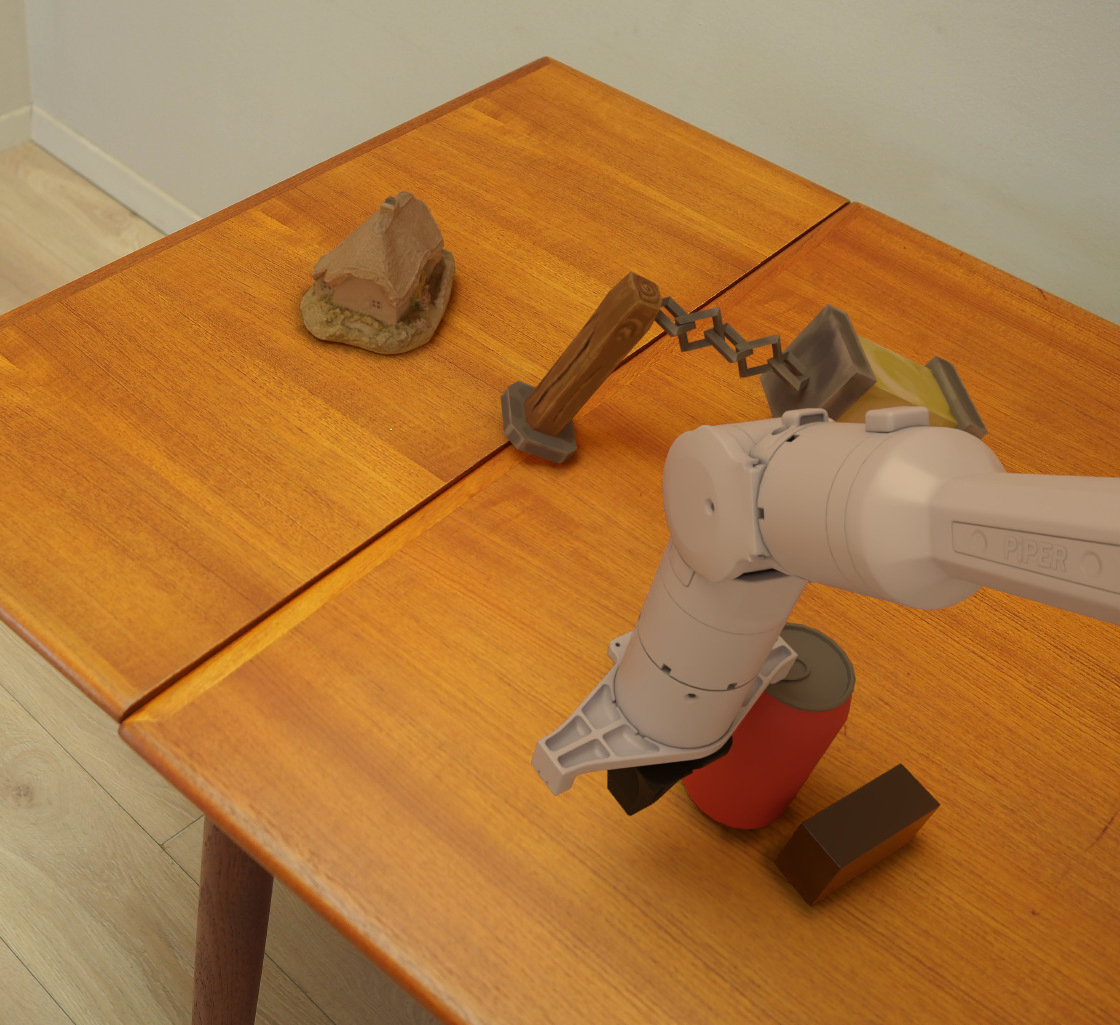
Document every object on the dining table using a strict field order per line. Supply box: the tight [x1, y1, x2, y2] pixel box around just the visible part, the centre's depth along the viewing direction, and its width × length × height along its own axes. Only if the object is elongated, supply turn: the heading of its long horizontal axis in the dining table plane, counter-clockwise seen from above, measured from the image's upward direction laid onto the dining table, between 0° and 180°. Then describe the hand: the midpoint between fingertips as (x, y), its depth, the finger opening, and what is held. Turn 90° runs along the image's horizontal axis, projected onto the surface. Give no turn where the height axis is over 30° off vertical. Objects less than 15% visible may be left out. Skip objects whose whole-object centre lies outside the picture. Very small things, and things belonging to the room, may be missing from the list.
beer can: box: [681, 621, 857, 831], centre depth 64 cm, size 7×7×12 cm
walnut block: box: [774, 762, 941, 907], centre depth 65 cm, size 3×8×4 cm, turn 122°
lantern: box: [500, 271, 989, 465], centre depth 86 cm, size 8×17×30 cm
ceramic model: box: [299, 190, 456, 355], centre depth 93 cm, size 14×11×10 cm
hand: (627, 796), depth 61 cm, fingers closed
